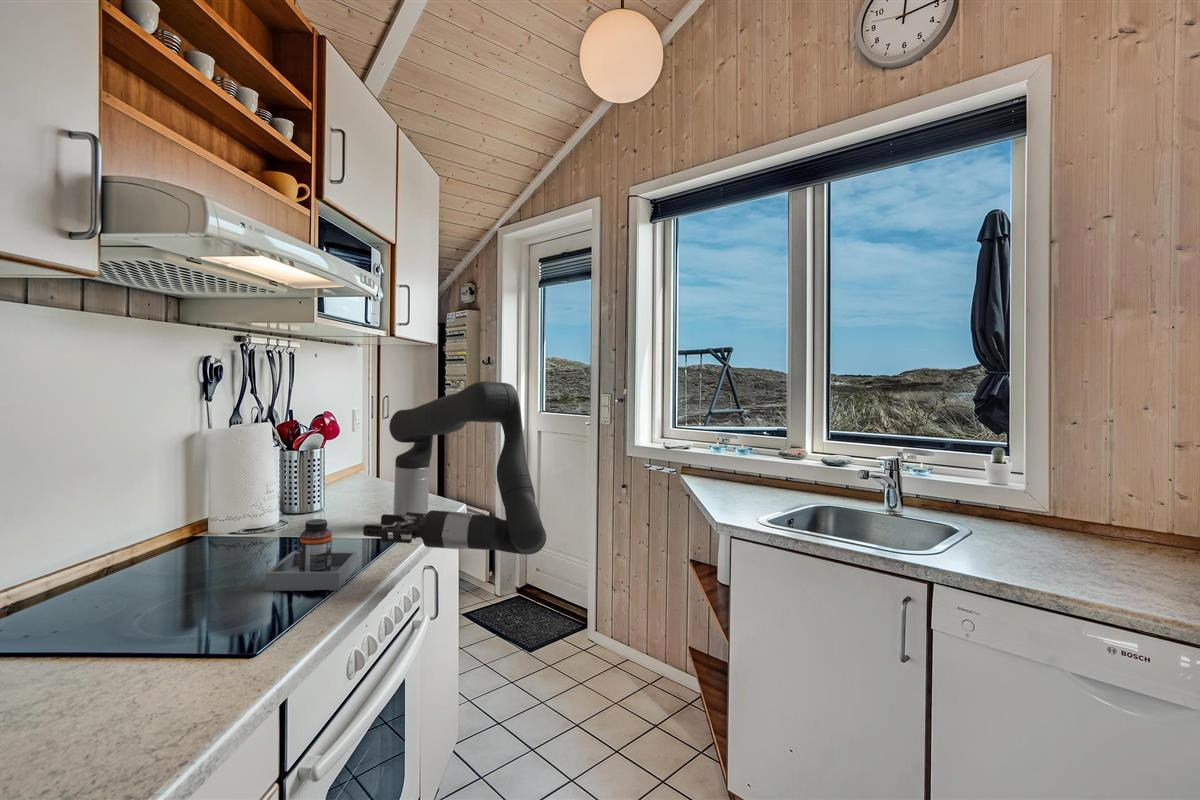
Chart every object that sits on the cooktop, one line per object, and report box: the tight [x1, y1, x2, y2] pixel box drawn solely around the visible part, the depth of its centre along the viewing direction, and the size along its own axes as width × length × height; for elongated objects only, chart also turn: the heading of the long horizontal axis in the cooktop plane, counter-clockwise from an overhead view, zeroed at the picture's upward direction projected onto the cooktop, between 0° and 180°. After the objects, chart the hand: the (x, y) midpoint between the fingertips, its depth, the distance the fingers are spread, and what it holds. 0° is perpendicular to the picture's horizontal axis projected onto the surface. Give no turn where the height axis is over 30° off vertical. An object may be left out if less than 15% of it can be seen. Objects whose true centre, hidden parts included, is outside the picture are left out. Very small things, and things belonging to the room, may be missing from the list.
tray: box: [264, 551, 359, 592], centre depth 119 cm, size 14×14×4 cm
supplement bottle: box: [299, 518, 333, 572], centre depth 119 cm, size 6×6×11 cm
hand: (373, 524), depth 120 cm, fingers open, 8 cm apart
